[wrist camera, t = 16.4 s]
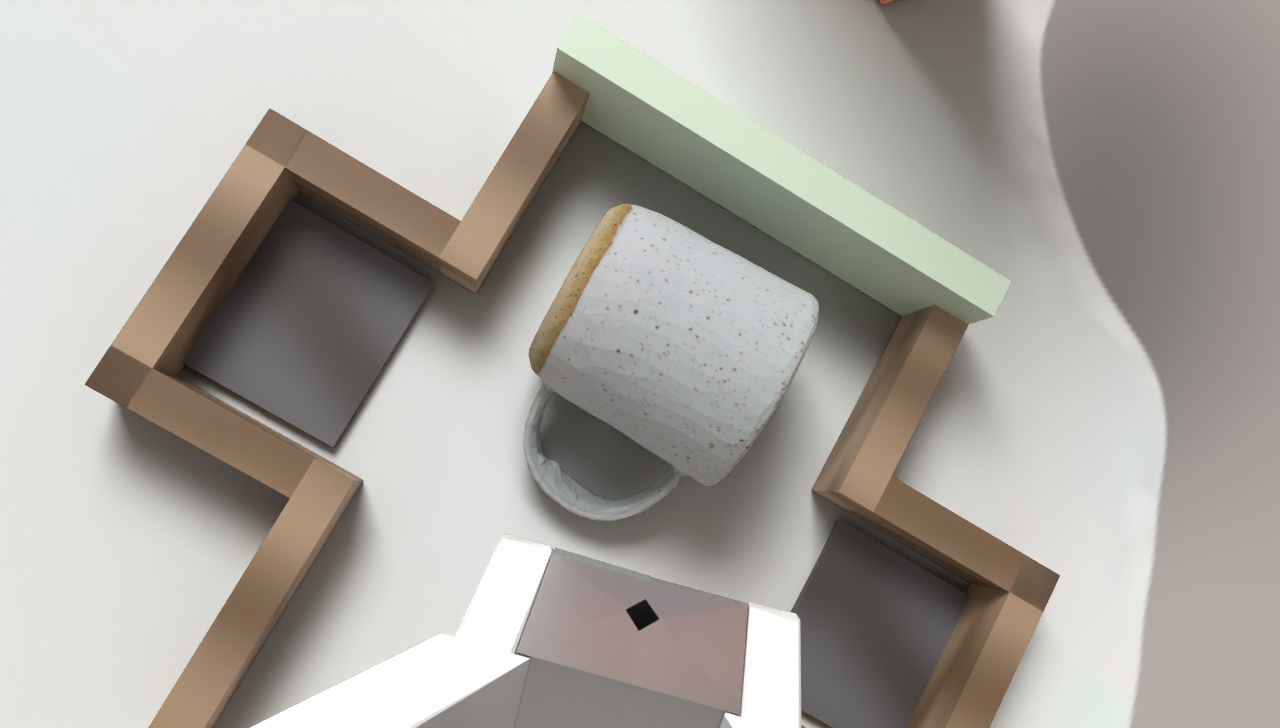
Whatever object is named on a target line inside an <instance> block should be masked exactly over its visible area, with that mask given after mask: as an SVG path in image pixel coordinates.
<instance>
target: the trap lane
mask: <svg viewBox="0 0 1280 728" xmlns="http://www.w3.org/2000/svg"><path fill="white" fill-rule="evenodd" d="M589 94H590V93H589V92H587V91H586V90H584V89H582V88H581V87H579V86H577V85H576V84H574V83H573V82H571V81H569V80H568V79H566V78H564V77H563V76H561V75H559V74H558V73H556V72H555V71H554V72H553V73H552V75H551V76H550V78H549V80H548V81H547V83H546V85H545V86H544V88H543V89H542V91H541V93H540V94H539V96H538V98H537V99H536V101H535V102H534V104H533V106H532V107H531V109H530V111H529V112H528V114H527V115H526V117H525V119H524V120H523V122H522V123H521V125H520V127H519V128H518V130H517V132H516V133H515V135H514V136H513V138H512V140H511V141H510V143H509V145H508V146H507V148H506V149H505V151H504V153H503V154H502V156H501V157H500V159H499V161H498V162H497V164H496V166H495V167H494V169H493V170H492V172H491V174H490V175H489V177H488V179H487V180H486V182H485V183H484V185H483V187H482V188H481V190H480V191H479V193H478V195H477V196H476V198H475V200H474V201H473V203H472V204H471V206H470V208H469V209H468V211H467V213H466V214H465V216H464V217H463V219H462V221H459V220H458V219H456V218H454V217H453V216H451V215H449V214H448V213H446V212H444V211H443V210H441V209H439V208H437V207H436V206H434V205H432V204H431V203H429V202H427V201H426V200H424V199H422V198H421V197H419V196H417V195H415V194H414V193H412V192H410V191H409V190H407V189H405V188H404V187H402V186H400V185H399V184H397V183H395V182H393V181H392V180H390V179H388V178H387V177H385V176H383V175H382V174H380V173H378V172H377V171H375V170H373V169H371V168H370V167H368V166H366V165H365V164H363V163H361V162H360V161H358V160H356V159H355V158H353V157H351V156H349V155H348V154H346V153H344V152H343V151H341V150H339V149H338V148H336V147H334V146H333V145H331V144H329V143H328V142H326V141H324V140H322V139H321V138H319V137H317V136H316V135H314V134H312V133H311V132H309V131H307V130H306V129H304V128H302V127H300V126H299V125H297V124H295V123H294V122H292V121H290V120H289V119H287V118H285V117H284V116H282V115H280V114H278V113H277V112H275V111H273V110H272V109H269V110H268V112H267V113H266V115H265V116H264V117H263V119H262V120H261V122H260V123H259V125H258V126H257V128H256V129H255V131H254V132H253V134H252V135H251V137H250V138H249V140H248V141H247V143H246V144H245V146H244V147H243V149H242V150H241V152H240V153H239V155H238V156H237V158H236V159H235V161H234V162H233V164H232V165H231V167H230V168H229V170H228V171H227V173H226V174H225V176H224V177H223V179H222V180H221V182H220V183H219V185H218V186H217V188H216V189H215V191H214V192H213V194H212V195H211V197H210V198H209V200H208V201H207V203H206V204H205V206H204V207H203V209H202V210H201V212H200V213H199V215H198V216H197V218H196V219H195V220H194V222H193V223H192V225H191V226H190V228H189V229H188V231H187V232H186V234H185V235H184V237H183V238H182V240H181V241H180V243H179V244H178V246H177V247H176V249H175V250H174V252H173V253H172V255H171V256H170V258H169V259H168V261H167V262H166V264H165V265H164V267H163V268H162V270H161V271H160V273H159V274H158V276H157V277H156V279H155V280H154V282H153V283H152V285H151V286H150V288H149V289H148V291H147V292H146V294H145V295H144V297H143V298H142V300H141V301H140V303H139V304H138V306H137V307H136V309H135V310H134V312H133V313H132V315H131V316H130V318H129V319H128V321H127V322H126V323H125V325H124V326H123V328H122V329H121V331H120V332H119V334H118V335H117V337H116V338H115V340H114V341H113V343H112V344H111V346H110V347H109V349H108V350H107V352H106V353H105V355H104V356H103V358H102V359H101V361H100V362H99V364H98V365H97V367H96V368H95V370H94V371H93V373H92V374H91V376H90V377H89V379H88V380H87V382H86V383H85V385H86V386H88V387H90V388H92V389H93V390H95V391H97V392H99V393H101V394H102V395H104V396H106V397H108V398H110V399H111V400H113V401H115V402H117V403H119V404H120V405H122V406H124V407H126V408H128V409H130V410H131V411H133V412H135V413H137V414H139V415H140V416H142V417H144V418H146V419H148V420H149V421H151V422H153V423H155V424H157V425H158V426H160V427H162V428H164V429H166V430H167V431H169V432H171V433H173V434H175V435H177V436H178V437H180V438H182V439H184V440H186V441H187V442H189V443H191V444H193V445H195V446H196V447H198V448H200V449H202V450H204V451H205V452H207V453H209V454H211V455H213V456H214V457H216V458H218V459H220V460H222V461H224V462H225V463H227V464H229V465H231V466H233V467H234V468H236V469H238V470H240V471H242V472H243V473H245V474H247V475H249V476H251V477H252V478H254V479H256V480H258V481H260V482H261V483H263V484H265V485H267V486H269V487H271V488H272V489H274V490H276V491H278V492H280V493H281V494H283V495H285V496H287V497H289V498H290V499H289V501H288V502H287V504H286V506H285V507H284V509H283V511H282V512H281V514H280V515H279V517H278V519H277V520H276V522H275V524H274V525H273V527H272V528H271V530H270V532H269V533H268V535H267V537H266V538H265V540H264V541H263V543H262V545H261V546H260V548H259V549H258V551H257V553H256V554H255V556H254V558H253V559H252V561H251V562H250V564H249V566H248V567H247V569H246V571H245V572H244V574H243V575H242V577H241V579H240V580H239V582H238V583H237V585H236V587H235V588H234V590H233V592H232V593H231V595H230V596H229V598H228V600H227V601H226V603H225V605H224V606H223V608H222V609H221V611H220V613H219V614H218V616H217V618H216V619H215V621H214V622H213V624H212V626H211V627H210V629H209V630H208V632H207V634H206V635H205V637H204V639H203V640H202V642H201V643H200V645H199V647H198V648H197V650H196V652H195V653H194V655H193V656H192V658H191V660H190V661H189V663H188V664H187V666H186V668H185V669H184V671H183V673H182V674H181V676H180V677H179V679H178V681H177V682H176V684H175V686H174V687H173V689H172V690H171V692H170V694H169V695H168V697H167V698H166V700H165V702H164V703H163V705H162V707H161V708H160V710H159V711H158V713H157V715H156V716H155V718H154V720H153V721H152V723H151V724H150V726H149V728H213V727H214V725H215V724H216V722H217V720H218V719H219V717H220V716H221V714H222V712H223V711H224V709H225V707H226V706H227V704H228V702H229V701H230V699H231V697H232V696H233V694H234V692H235V691H236V689H237V687H238V686H239V684H240V683H241V681H242V679H243V678H244V676H245V674H246V673H247V671H248V669H249V668H250V666H251V664H252V663H253V661H254V659H255V658H256V656H257V654H258V653H259V651H260V649H261V648H262V646H263V645H264V643H265V641H266V640H267V638H268V636H269V635H270V633H271V631H272V630H273V628H274V626H275V625H276V623H277V621H278V620H279V618H280V616H281V615H282V613H283V612H284V610H285V608H286V607H287V605H288V603H289V602H290V600H291V598H292V597H293V595H294V593H295V592H296V590H297V588H298V587H299V585H300V583H301V582H302V580H303V579H304V577H305V575H306V574H307V572H308V570H309V569H310V567H311V565H312V564H313V562H314V560H315V559H316V557H317V555H318V554H319V552H320V550H321V549H322V547H323V546H324V544H325V542H326V541H327V539H328V537H329V536H330V534H331V532H332V531H333V529H334V527H335V526H336V524H337V522H338V521H339V519H340V517H341V516H342V514H343V512H344V511H345V509H346V508H347V506H348V504H349V503H350V501H351V499H352V498H353V496H354V494H355V493H356V491H357V489H358V488H359V486H360V484H361V483H362V481H363V480H362V479H360V478H359V477H357V476H355V475H353V474H351V473H350V472H348V471H346V470H344V469H343V468H341V467H339V466H337V465H335V464H334V463H332V462H330V461H328V460H326V459H325V458H323V457H321V456H319V455H317V454H316V453H314V452H312V451H310V450H309V449H307V448H305V447H303V446H301V445H300V444H298V443H296V442H294V441H292V440H291V439H289V438H287V437H285V436H283V435H282V434H280V433H278V432H276V431H275V430H273V429H271V428H269V427H267V426H266V425H264V424H262V423H260V422H258V421H257V420H255V419H253V418H251V417H250V416H248V415H246V414H244V413H242V412H241V411H239V410H237V409H235V408H233V407H232V406H230V405H228V404H226V403H224V402H223V401H221V400H219V399H217V398H216V397H214V396H212V395H210V394H208V393H207V392H205V391H203V390H201V389H199V388H198V387H196V386H194V385H192V384H191V383H189V382H187V381H185V380H183V379H182V378H180V377H178V375H179V374H180V372H181V370H182V369H183V367H184V366H185V365H187V366H188V367H190V368H192V369H194V370H196V371H197V372H199V373H201V374H203V375H204V376H206V377H208V378H210V379H212V380H213V381H215V382H217V383H219V384H220V385H222V386H224V387H226V388H228V389H229V390H231V391H233V392H235V393H237V394H238V395H240V396H242V397H244V398H245V399H247V400H249V401H251V402H253V403H254V404H256V405H258V406H260V407H261V408H263V409H265V410H267V411H269V412H270V413H272V414H274V415H276V416H278V417H279V418H281V419H283V420H285V421H286V422H288V423H290V424H292V425H294V426H295V427H297V428H299V429H301V430H303V431H304V432H306V433H308V434H310V435H311V436H313V437H315V438H317V439H319V440H320V441H322V442H324V443H326V444H327V445H329V446H331V447H333V448H334V447H335V445H336V444H337V442H338V440H339V439H340V437H341V435H342V434H343V432H344V431H345V429H346V427H347V426H348V424H349V422H350V421H351V419H352V417H353V416H354V414H355V413H356V411H357V409H358V408H359V406H360V404H361V403H362V401H363V400H364V398H365V396H366V395H367V393H368V391H369V390H370V388H371V387H372V385H373V383H374V382H375V380H376V378H377V377H378V375H379V374H380V372H381V370H382V369H383V367H384V365H385V364H386V362H387V361H388V359H389V357H390V356H391V354H392V352H393V351H394V349H395V348H396V346H397V344H398V343H399V341H400V339H401V338H402V336H403V335H404V333H405V331H406V330H407V328H408V326H409V325H410V323H411V322H412V320H413V318H414V317H415V315H416V313H417V312H418V310H419V309H420V307H421V305H422V304H423V302H424V300H425V299H426V297H427V296H428V294H429V292H430V291H431V289H432V287H433V286H434V283H433V282H431V281H430V280H428V279H426V278H424V277H423V276H421V275H419V274H418V273H416V272H414V271H412V270H411V269H409V268H407V267H406V266H404V265H402V264H400V263H399V262H397V261H395V260H394V259H392V258H390V257H388V256H387V255H385V254H383V253H382V252H380V251H378V250H376V249H375V248H373V247H371V246H370V245H368V244H366V243H364V242H363V241H361V240H359V239H358V238H356V237H354V236H352V235H351V234H349V233H347V232H346V231H344V230H342V229H340V228H339V227H337V226H335V225H334V224H332V223H330V222H328V221H327V220H325V219H323V218H322V217H320V216H318V215H316V214H315V213H313V212H311V211H310V210H308V209H306V208H304V207H303V206H301V205H299V204H298V203H296V202H294V201H293V199H294V197H295V196H296V194H297V193H298V191H301V192H302V193H304V194H306V195H307V196H309V197H311V198H313V199H314V200H316V201H318V202H319V203H321V204H323V205H325V206H326V207H328V208H330V209H331V210H333V211H335V212H336V213H338V214H340V215H342V216H343V217H345V218H347V219H348V220H350V221H352V222H354V223H355V224H357V225H359V226H360V227H362V228H364V229H366V230H367V231H369V232H371V233H372V234H374V235H376V236H378V237H379V238H381V239H383V240H384V241H386V242H388V243H389V244H391V245H393V246H395V247H396V248H398V249H400V250H401V251H403V252H405V253H407V254H408V255H410V256H412V257H413V258H415V259H417V260H419V261H420V262H422V263H424V264H425V265H427V266H429V267H431V268H432V269H434V270H436V271H437V272H439V273H441V274H443V275H444V276H446V277H448V278H449V279H451V280H453V281H454V282H456V283H458V284H460V285H461V286H463V287H465V288H466V289H468V290H470V291H472V292H473V293H475V294H476V293H477V291H478V290H479V288H480V286H481V285H482V283H483V281H484V280H485V278H486V276H487V275H488V273H489V271H490V270H491V268H492V267H493V265H494V263H495V262H496V260H497V258H498V257H499V255H500V253H501V252H502V250H503V248H504V247H505V245H506V243H507V242H508V240H509V238H510V237H511V235H512V234H513V232H514V230H515V229H516V227H517V225H518V224H519V222H520V220H521V219H522V217H523V215H524V214H525V212H526V210H527V209H528V207H529V205H530V204H531V202H532V201H533V199H534V197H535V196H536V194H537V192H538V191H539V189H540V187H541V186H542V184H543V182H544V181H545V179H546V177H547V176H548V174H549V172H550V171H551V169H552V167H553V166H554V164H555V163H556V161H557V159H558V158H559V156H560V154H561V153H562V151H563V149H564V148H565V146H566V144H567V143H568V141H569V139H570V138H571V136H572V134H573V133H574V131H575V130H576V128H577V126H578V125H579V123H580V121H581V119H582V116H583V113H584V109H585V106H586V103H587V100H588V97H589ZM968 325H969V324H966V323H964V322H963V321H961V320H960V319H958V318H956V317H955V316H953V315H951V314H950V313H948V312H946V311H945V310H943V309H942V308H940V307H938V306H937V305H932V306H930V307H927V308H924V309H921V310H918V311H915V312H913V313H910V314H907V315H904V316H902V317H901V319H900V321H899V323H898V325H897V327H896V329H895V331H894V333H893V334H892V336H891V338H890V340H889V342H888V344H887V346H886V348H885V350H884V352H883V354H882V356H881V358H880V359H879V361H878V363H877V365H876V367H875V369H874V371H873V373H872V375H871V377H870V379H869V381H868V382H867V384H866V386H865V388H864V390H863V392H862V394H861V396H860V398H859V400H858V402H857V404H856V405H855V407H854V409H853V411H852V413H851V415H850V417H849V419H848V421H847V423H846V425H845V427H844V429H843V430H842V432H841V434H840V436H839V438H838V440H837V442H836V444H835V446H834V448H833V450H832V452H831V453H830V455H829V457H828V459H827V461H826V463H825V465H824V467H823V469H822V471H821V473H820V475H819V477H818V478H817V480H816V482H815V484H814V486H813V488H812V491H814V492H815V493H817V494H819V495H820V496H822V497H824V498H826V499H827V500H829V501H831V502H832V503H834V504H836V505H838V506H839V507H841V508H843V509H844V510H846V511H848V512H850V513H851V514H853V515H855V516H856V517H858V518H860V519H862V520H863V521H865V522H867V523H868V524H870V525H872V526H874V527H875V528H877V529H879V530H880V531H882V532H884V533H885V534H887V535H889V536H891V537H892V538H894V539H896V540H897V541H899V542H901V543H903V544H904V545H906V546H908V547H909V548H911V549H913V550H915V551H916V552H918V553H920V554H921V555H923V556H925V557H927V558H928V559H930V560H932V561H933V562H935V563H937V564H939V565H940V566H942V567H944V568H945V569H947V570H949V571H950V572H952V573H954V574H956V575H957V576H959V577H961V578H962V579H964V580H966V581H968V582H969V583H971V584H970V586H969V588H968V590H967V592H966V593H964V592H963V591H961V590H959V589H958V588H956V587H954V586H952V585H951V584H949V583H947V582H946V581H944V580H942V579H940V578H939V577H937V576H935V575H934V574H932V573H930V572H928V571H927V570H925V569H923V568H922V567H920V566H918V565H916V564H915V563H913V562H911V561H910V560H908V559H906V558H904V557H903V556H901V555H899V554H898V553H896V552H894V551H892V550H891V549H889V548H887V547H886V546H884V545H882V544H880V543H879V542H877V541H875V540H874V539H872V538H870V537H868V536H867V535H865V534H863V533H862V532H860V531H858V530H856V529H855V528H853V527H851V526H850V525H848V524H846V523H844V522H843V521H839V520H838V521H837V523H836V525H835V527H834V529H833V531H832V533H831V535H830V537H829V539H828V541H827V543H826V544H825V546H824V548H823V550H822V552H821V554H820V556H819V558H818V560H817V562H816V564H815V566H814V568H813V570H812V572H811V574H810V576H809V578H808V580H807V581H806V583H805V585H804V587H803V589H802V591H801V593H800V595H799V597H798V599H797V601H796V603H795V605H794V607H793V609H792V611H791V612H792V613H796V614H797V616H798V618H799V619H800V637H801V710H802V711H804V712H805V713H807V714H809V715H811V716H813V717H814V718H816V719H818V720H820V721H821V722H823V723H825V724H827V725H829V726H830V727H832V728H989V727H990V725H991V722H992V720H993V718H994V716H995V714H996V712H997V710H998V707H999V705H1000V703H1001V701H1002V699H1003V697H1004V695H1005V692H1006V690H1007V688H1008V686H1009V684H1010V682H1011V680H1012V677H1013V675H1014V673H1015V671H1016V669H1017V667H1018V665H1019V662H1020V660H1021V658H1022V656H1023V654H1024V652H1025V650H1026V647H1027V645H1028V643H1029V641H1030V639H1031V637H1032V635H1033V632H1034V630H1035V628H1036V626H1037V624H1038V622H1039V620H1040V617H1041V615H1042V613H1043V611H1044V609H1045V607H1046V605H1047V603H1048V600H1049V598H1050V596H1051V594H1052V592H1053V590H1054V588H1055V585H1056V583H1057V581H1058V579H1059V577H1060V575H1058V574H1057V573H1055V572H1053V571H1051V570H1050V569H1048V568H1046V567H1045V566H1043V565H1041V564H1040V563H1038V562H1036V561H1035V560H1033V559H1031V558H1029V557H1028V556H1026V555H1024V554H1023V553H1021V552H1019V551H1018V550H1016V549H1014V548H1013V547H1011V546H1009V545H1007V544H1006V543H1004V542H1002V541H1001V540H999V539H997V538H996V537H994V536H992V535H991V534H989V533H987V532H985V531H984V530H982V529H980V528H979V527H977V526H975V525H974V524H972V523H970V522H969V521H967V520H965V519H963V518H962V517H960V516H958V515H957V514H955V513H953V512H952V511H950V510H948V509H947V508H945V507H943V506H941V505H940V504H938V503H936V502H935V501H933V500H931V499H930V498H928V497H926V496H925V495H923V494H921V493H920V492H918V491H916V490H914V489H913V488H911V487H909V486H908V485H906V484H904V483H903V482H901V481H899V480H898V479H896V478H894V477H892V474H893V472H894V470H895V468H896V466H897V464H898V462H899V461H900V459H901V457H902V455H903V453H904V451H905V449H906V447H907V445H908V443H909V441H910V439H911V437H912V435H913V433H914V431H915V429H916V427H917V425H918V423H919V421H920V419H921V417H922V415H923V413H924V411H925V409H926V407H927V405H928V403H929V401H930V399H931V397H932V395H933V394H934V392H935V390H936V388H937V386H938V384H939V382H940V380H941V378H942V376H943V374H944V372H945V370H946V368H947V366H948V364H949V362H950V360H951V358H952V356H953V354H954V352H955V350H956V348H957V346H958V344H959V342H960V340H961V338H962V336H963V334H964V332H965V330H966V328H967V326H968ZM801 728H806V727H804V726H802V725H801Z"/></svg>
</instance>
